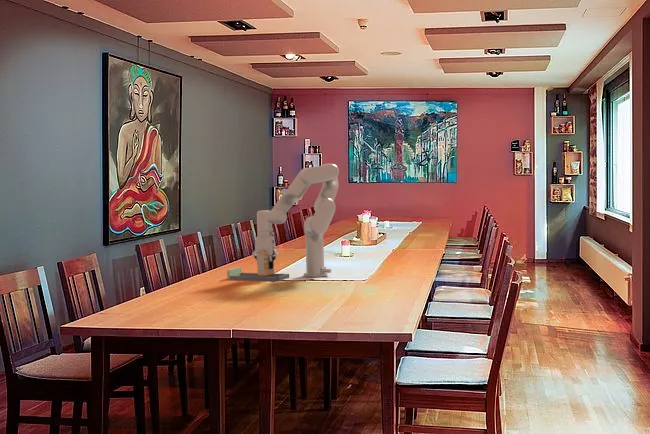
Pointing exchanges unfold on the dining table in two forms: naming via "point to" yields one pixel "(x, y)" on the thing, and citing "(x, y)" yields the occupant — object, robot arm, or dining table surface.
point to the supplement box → (263, 264)
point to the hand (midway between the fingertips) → (265, 268)
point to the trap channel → (253, 276)
